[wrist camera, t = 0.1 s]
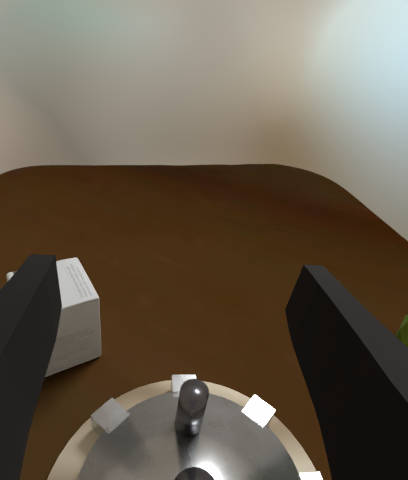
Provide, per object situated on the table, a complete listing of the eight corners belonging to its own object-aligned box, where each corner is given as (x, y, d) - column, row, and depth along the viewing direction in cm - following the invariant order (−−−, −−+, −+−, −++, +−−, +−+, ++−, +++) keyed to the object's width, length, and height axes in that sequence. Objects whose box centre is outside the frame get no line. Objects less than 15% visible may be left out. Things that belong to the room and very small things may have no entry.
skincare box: (102, 357, 34) (101, 297, 30) (31, 384, 31) (19, 321, 27) (81, 312, 38) (77, 255, 34) (16, 332, 35) (3, 272, 31)
